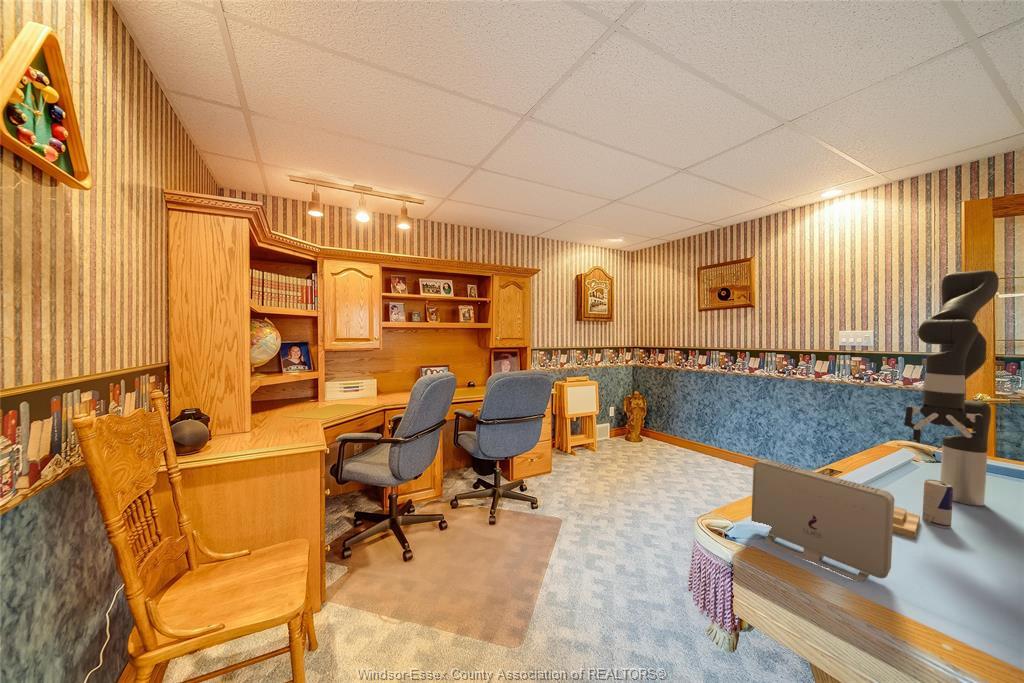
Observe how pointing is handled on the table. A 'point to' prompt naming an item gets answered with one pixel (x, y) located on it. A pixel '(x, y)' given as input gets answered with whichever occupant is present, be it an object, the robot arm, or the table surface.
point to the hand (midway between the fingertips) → (940, 446)
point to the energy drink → (937, 503)
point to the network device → (825, 517)
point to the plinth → (905, 523)
